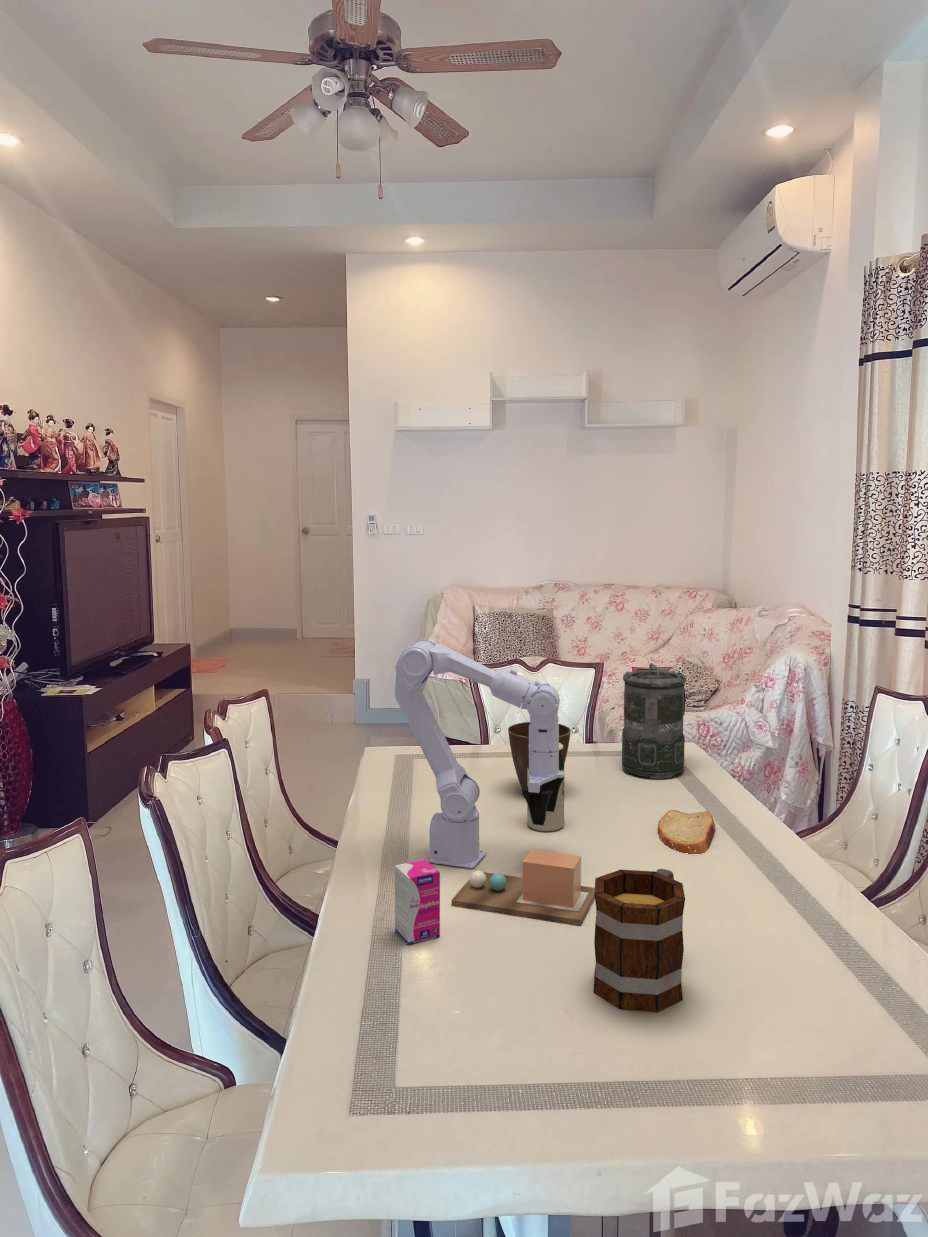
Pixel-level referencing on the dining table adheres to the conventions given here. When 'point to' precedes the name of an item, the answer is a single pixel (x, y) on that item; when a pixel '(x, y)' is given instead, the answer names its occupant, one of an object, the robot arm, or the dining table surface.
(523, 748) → the plant pot
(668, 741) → the canister
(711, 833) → the slice of bread
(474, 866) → the robot arm
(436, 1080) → the dining table surface
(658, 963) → the mug
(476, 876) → the cream marble
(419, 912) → the supplement box
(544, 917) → the walnut board
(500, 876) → the teal marble
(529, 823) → the travel mug
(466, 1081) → the dining table surface
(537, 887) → the terracotta cover
